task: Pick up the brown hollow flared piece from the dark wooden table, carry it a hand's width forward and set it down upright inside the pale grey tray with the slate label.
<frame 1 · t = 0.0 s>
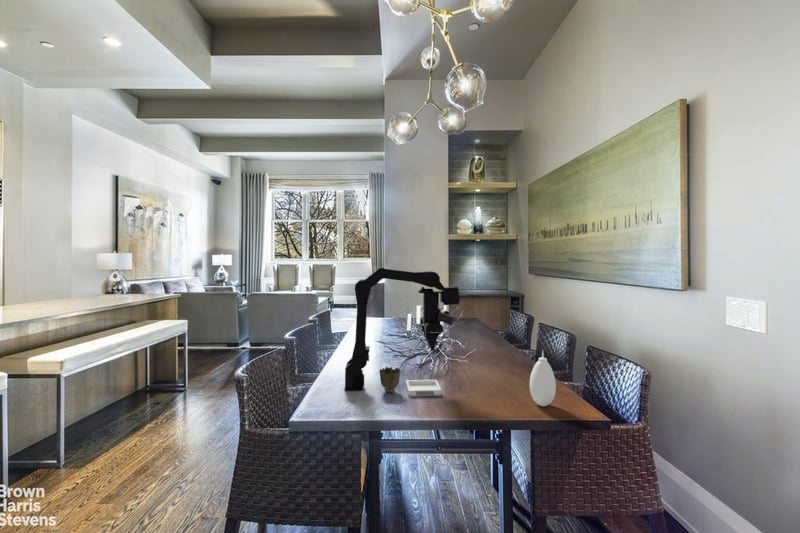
hand: (430, 347, 141), 15 cm above the table, tool pointing down, fingers open, 9 cm apart
brown hollow flared piece: (389, 392, 136), on the table
air blower bulb: (542, 405, 124), on the table
labelled tray: (423, 390, 137), on the table
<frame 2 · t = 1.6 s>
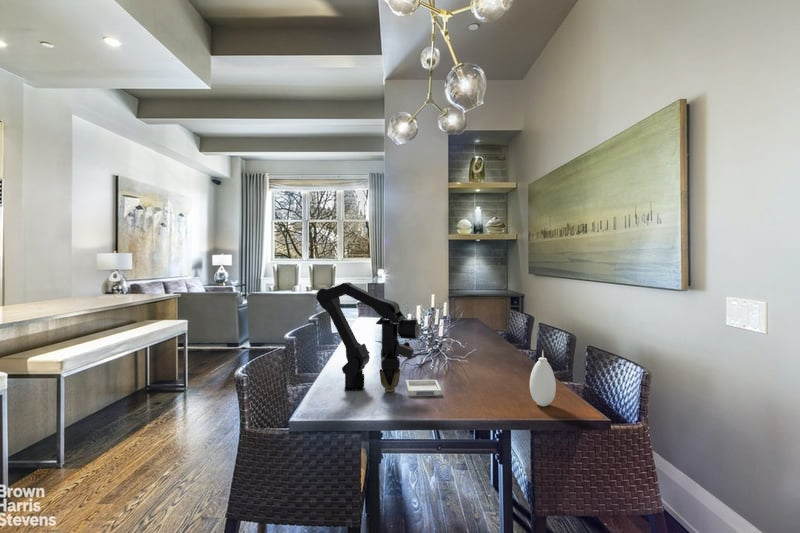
hand: (389, 380, 136), 4 cm above the table, tool pointing down, fingers open, 9 cm apart
nothing on the table moved.
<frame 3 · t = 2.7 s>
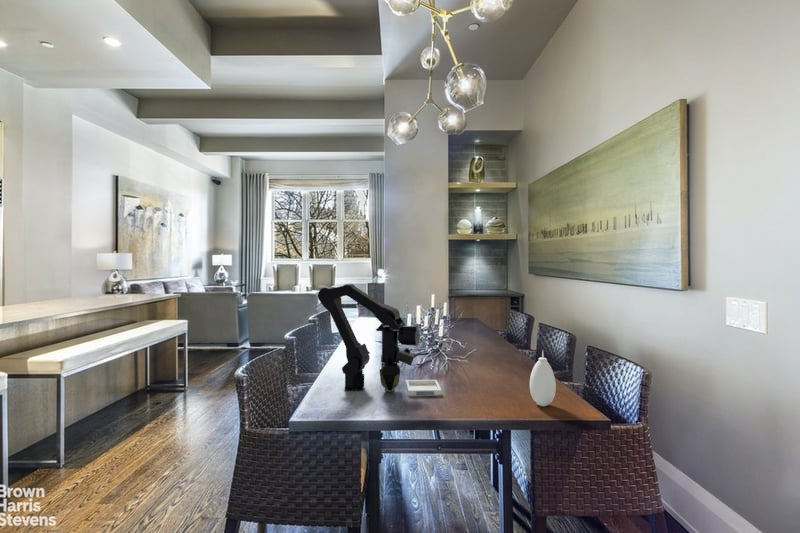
hand: (389, 387, 136), 2 cm above the table, tool pointing down, fingers closed on brown hollow flared piece, 6 cm apart
brown hollow flared piece: (389, 392, 136), on the table, touching gripper
everything else where it was.
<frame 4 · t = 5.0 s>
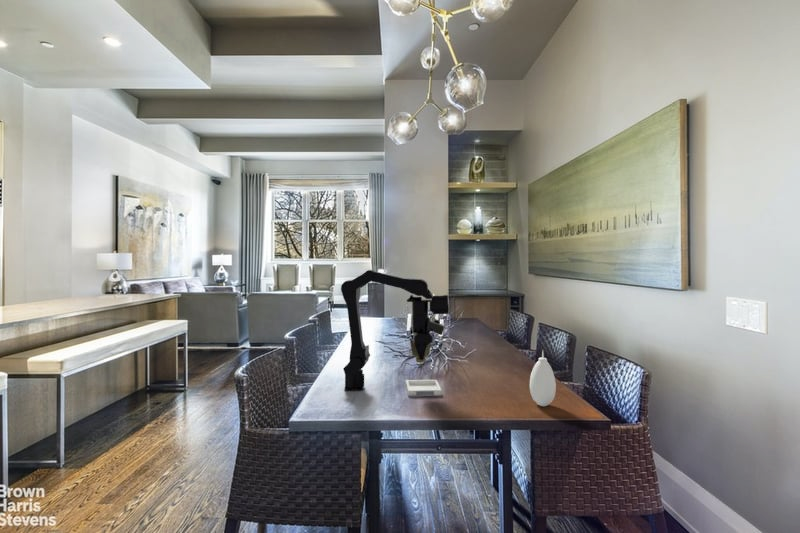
hand: (420, 357, 137), 12 cm above the table, tool pointing down, fingers closed on brown hollow flared piece, 6 cm apart
brown hollow flared piece: (420, 362, 137), point 10 cm above the table, touching gripper
everything else where it was.
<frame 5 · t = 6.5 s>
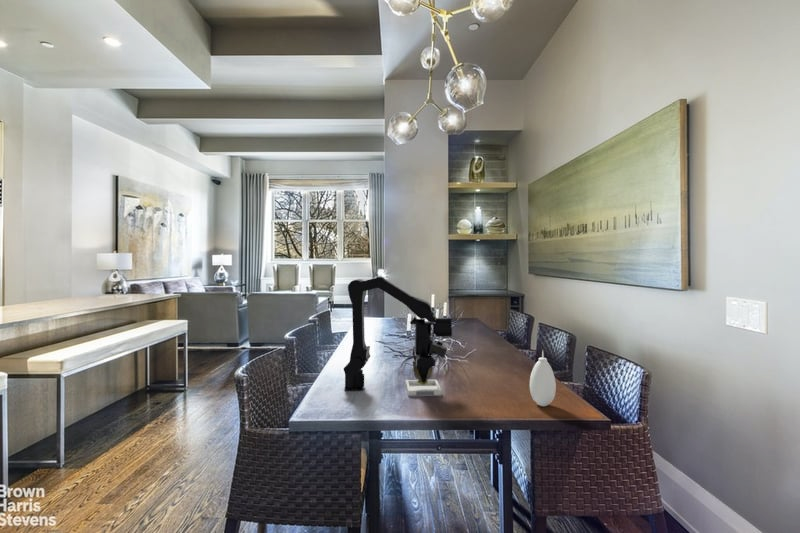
hand: (422, 379, 137), 4 cm above the table, tool pointing down, fingers closed on brown hollow flared piece, 6 cm apart
brown hollow flared piece: (422, 384, 137), point 2 cm above the table, touching gripper
everything else where it was.
when the fingers open (4 cm above the table, at t = 7.5 s): brown hollow flared piece drops 1 cm, resting on labelled tray.
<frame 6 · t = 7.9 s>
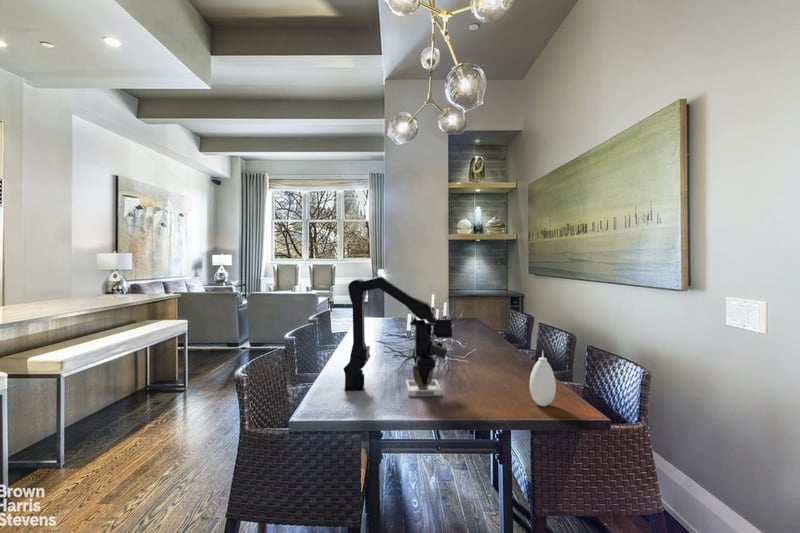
hand: (422, 380, 137), 4 cm above the table, tool pointing down, fingers open, 9 cm apart
brown hollow flared piece: (422, 389, 138), resting on labelled tray
everything else where it was.
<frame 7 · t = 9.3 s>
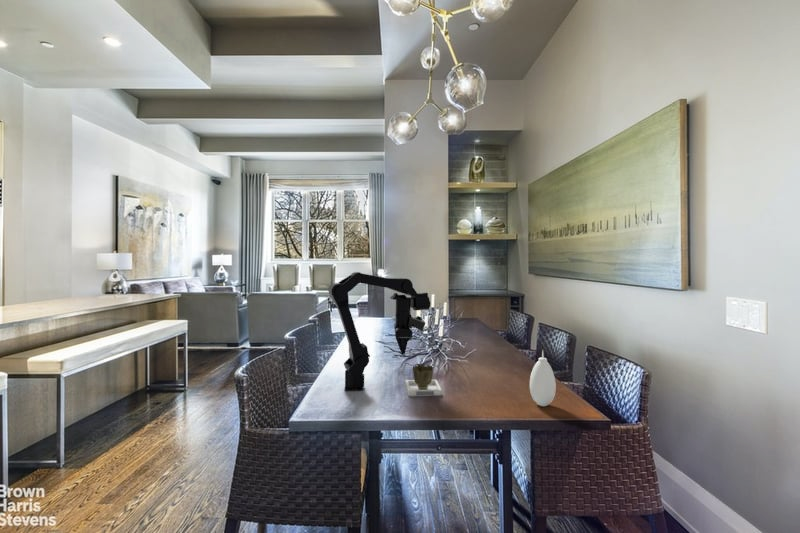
hand: (402, 351, 146), 12 cm above the table, tool pointing down, fingers open, 9 cm apart
nothing on the table moved.
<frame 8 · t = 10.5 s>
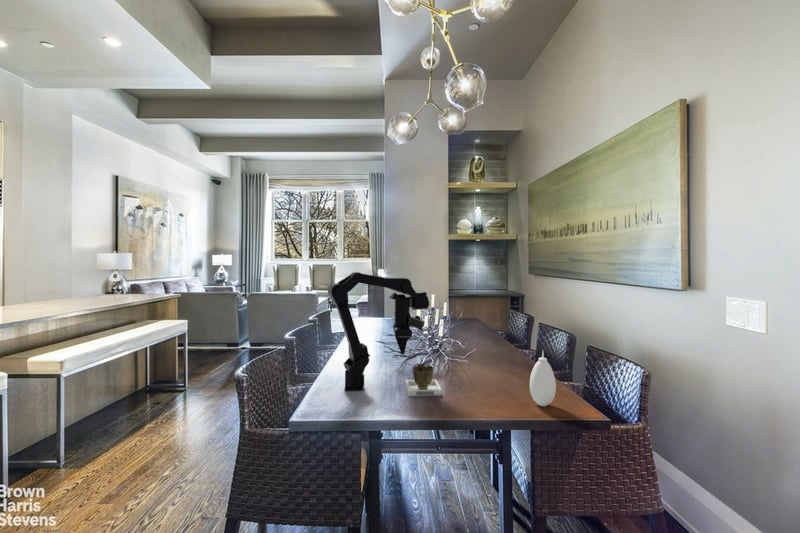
hand: (402, 350, 147), 12 cm above the table, tool pointing down, fingers open, 9 cm apart
nothing on the table moved.
at the end: brown hollow flared piece 0.1 cm off-centre on the labelled tray, point 0.3 cm above the labelled tray's base; brown hollow flared piece tilted 0°; the gripper is holding nothing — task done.
